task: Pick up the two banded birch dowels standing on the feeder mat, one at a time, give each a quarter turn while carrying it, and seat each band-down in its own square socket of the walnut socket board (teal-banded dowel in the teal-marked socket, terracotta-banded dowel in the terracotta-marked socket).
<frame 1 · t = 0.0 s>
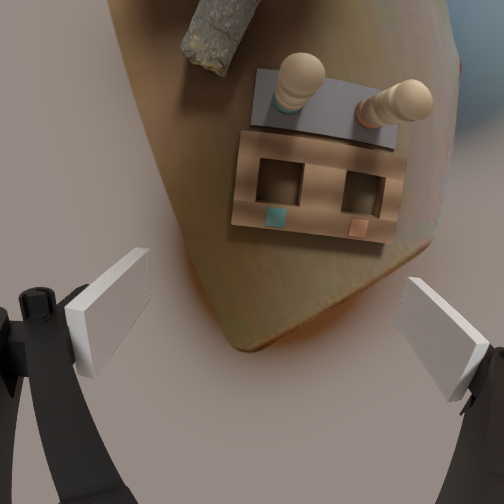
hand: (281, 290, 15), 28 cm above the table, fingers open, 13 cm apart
feeder mat: (329, 106, 38), on the table
peg b: (368, 114, 37), resting on feeder mat
peg a: (288, 99, 37), resting on feeder mat
rock: (225, 29, 35), on the table
socket board: (319, 186, 41), on the table
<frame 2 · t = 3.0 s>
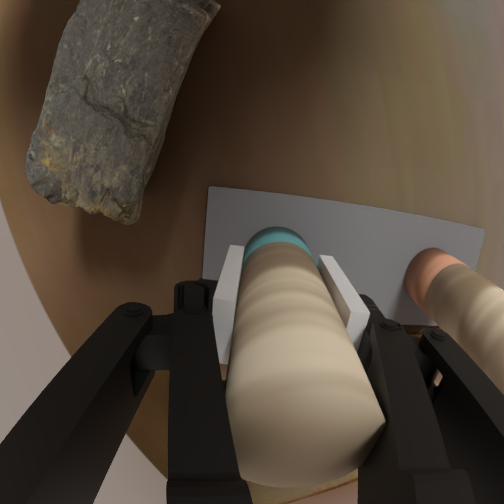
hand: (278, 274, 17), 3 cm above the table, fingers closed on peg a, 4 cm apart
feeder mat: (358, 266, 20), on the table
peg b: (428, 275, 20), resting on feeder mat
peg a: (276, 259, 20), resting on feeder mat, touching gripper
rock: (149, 80, 17), on the table
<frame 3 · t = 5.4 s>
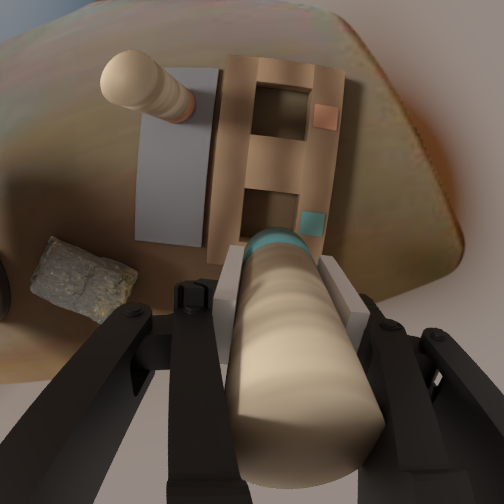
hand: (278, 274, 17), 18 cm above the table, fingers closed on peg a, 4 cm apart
feeder mat: (173, 154, 33), on the table
peg b: (177, 105, 31), resting on feeder mat
peg a: (276, 259, 20), point 15 cm above the table, touching gripper
rock: (89, 266, 37), on the table
socket board: (274, 163, 33), on the table
when the fingers open (4 cm above the table, at t = 8.0 s): peg a drops 2 cm, resting in socket board.
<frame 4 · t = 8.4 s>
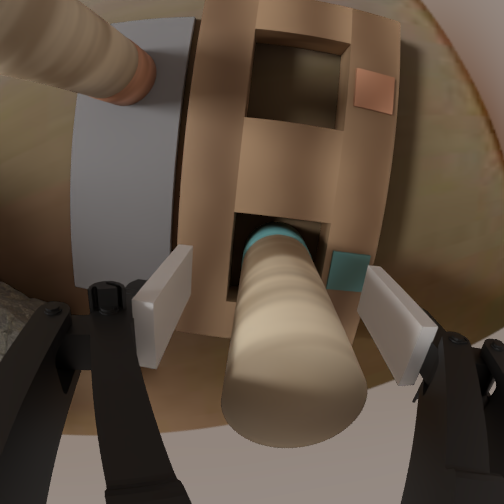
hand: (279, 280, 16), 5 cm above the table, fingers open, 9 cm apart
feeder mat: (121, 156, 19), on the table
peg b: (127, 77, 17), resting on feeder mat
peg a: (274, 251, 21), resting in socket board
rock: (23, 309, 24), on the table
socket board: (285, 168, 19), on the table
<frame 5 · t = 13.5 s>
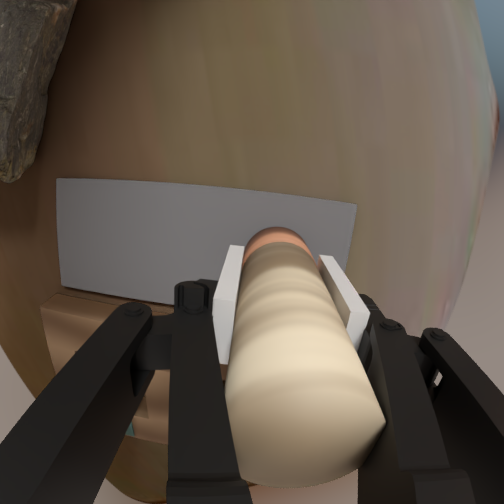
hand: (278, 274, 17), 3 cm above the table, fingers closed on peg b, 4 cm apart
feeder mat: (189, 247, 20), on the table
peg b: (276, 259, 20), resting on feeder mat, touching gripper
rock: (38, 70, 16), on the table
socket board: (186, 380, 23), on the table
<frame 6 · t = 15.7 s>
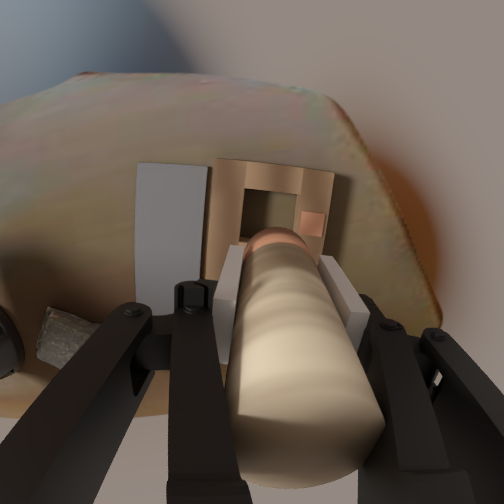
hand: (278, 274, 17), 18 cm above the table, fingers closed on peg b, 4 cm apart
feeder mat: (167, 251, 36), on the table
peg b: (276, 259, 20), point 15 cm above the table, touching gripper
rock: (85, 329, 40), on the table
socket board: (262, 261, 36), on the table
when the fingers open (4 cm above the table, at t = 18.3 s): peg b drops 2 cm, resting in socket board.
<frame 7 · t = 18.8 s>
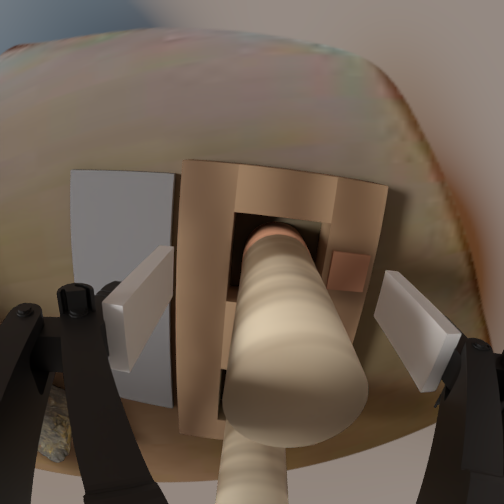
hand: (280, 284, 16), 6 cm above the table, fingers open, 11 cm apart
feeder mat: (121, 303, 23), on the table
peg b: (274, 251, 21), resting in socket board
peg a: (256, 380, 24), resting in socket board
rock: (33, 385, 27), on the table
socket board: (264, 323, 23), on the table
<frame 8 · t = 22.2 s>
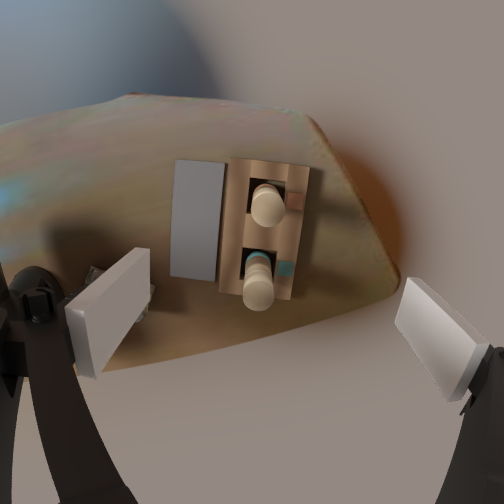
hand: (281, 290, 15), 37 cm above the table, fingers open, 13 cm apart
feeder mat: (195, 221, 52), on the table
peg b: (265, 195, 50), resting in socket board
peg a: (258, 260, 53), resting in socket board
rock: (120, 284, 56), on the table
socket board: (262, 228, 52), on the table
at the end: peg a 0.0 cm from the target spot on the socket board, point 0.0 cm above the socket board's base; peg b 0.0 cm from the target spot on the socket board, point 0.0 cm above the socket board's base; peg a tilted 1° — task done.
